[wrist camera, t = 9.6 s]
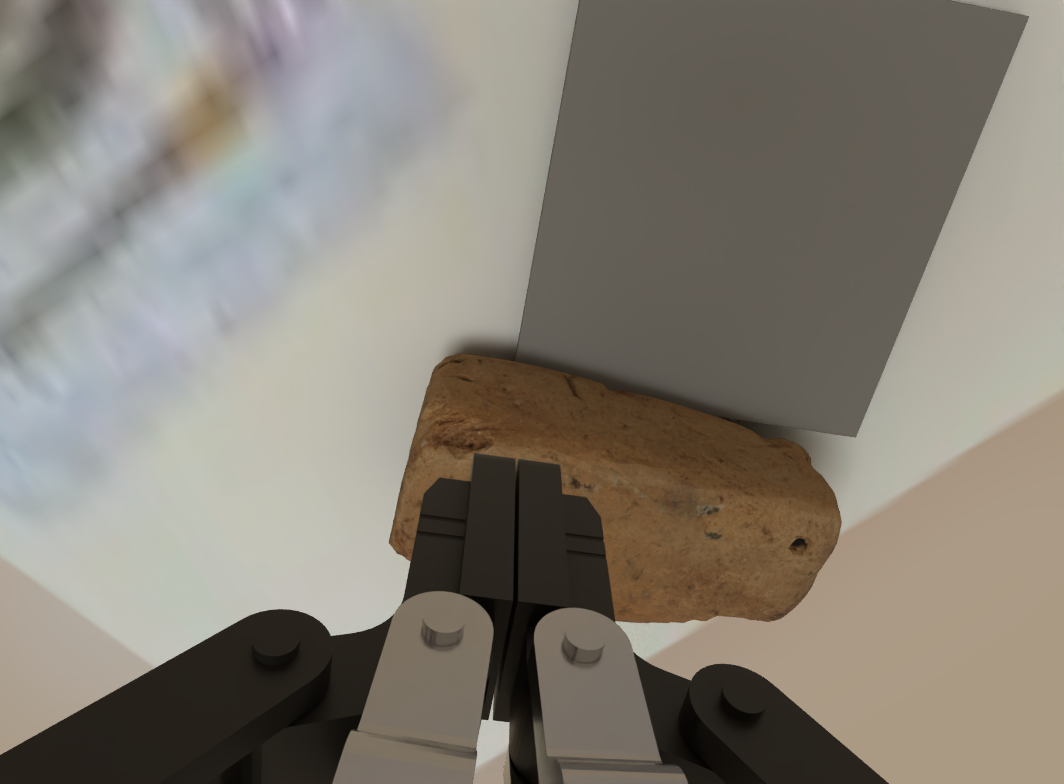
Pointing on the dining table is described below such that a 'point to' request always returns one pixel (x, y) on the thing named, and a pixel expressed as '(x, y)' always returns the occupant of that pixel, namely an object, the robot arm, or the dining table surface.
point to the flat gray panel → (754, 195)
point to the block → (638, 487)
